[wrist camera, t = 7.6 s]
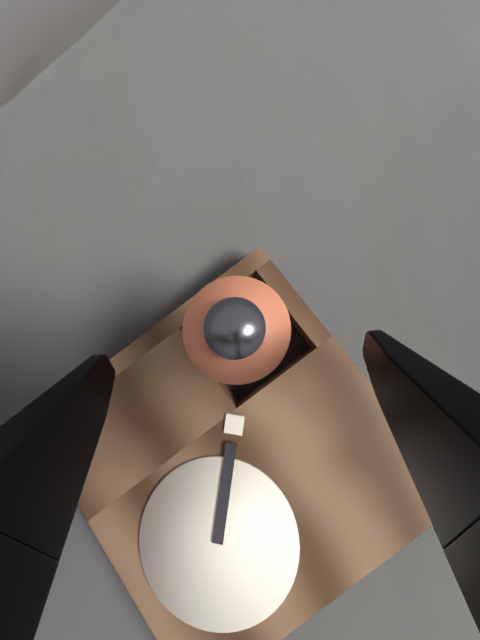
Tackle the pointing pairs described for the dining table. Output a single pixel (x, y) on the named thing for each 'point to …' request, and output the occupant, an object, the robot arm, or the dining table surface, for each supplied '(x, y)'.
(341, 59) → the dining table surface
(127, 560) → the dial board
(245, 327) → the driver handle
